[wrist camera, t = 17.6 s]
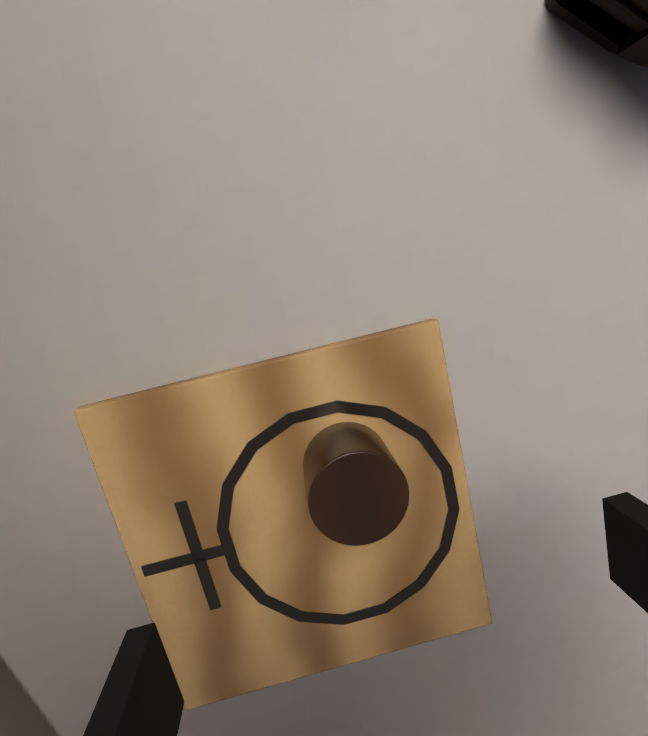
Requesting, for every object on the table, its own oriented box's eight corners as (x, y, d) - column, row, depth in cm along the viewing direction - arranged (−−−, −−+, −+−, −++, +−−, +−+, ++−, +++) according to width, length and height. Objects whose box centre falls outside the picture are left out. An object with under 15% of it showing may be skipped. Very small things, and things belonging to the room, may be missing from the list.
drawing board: (187, 698, 26) (184, 712, 25) (80, 406, 22) (71, 411, 21) (486, 613, 27) (493, 625, 26) (433, 318, 23) (439, 319, 22)
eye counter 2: (314, 511, 23) (321, 558, 20) (293, 433, 22) (296, 466, 19) (395, 489, 24) (418, 531, 20) (378, 412, 23) (399, 439, 19)
